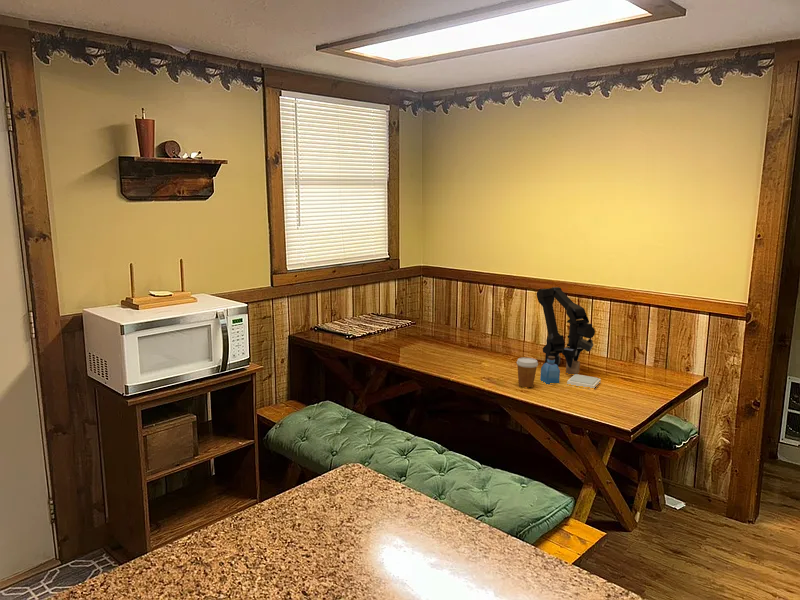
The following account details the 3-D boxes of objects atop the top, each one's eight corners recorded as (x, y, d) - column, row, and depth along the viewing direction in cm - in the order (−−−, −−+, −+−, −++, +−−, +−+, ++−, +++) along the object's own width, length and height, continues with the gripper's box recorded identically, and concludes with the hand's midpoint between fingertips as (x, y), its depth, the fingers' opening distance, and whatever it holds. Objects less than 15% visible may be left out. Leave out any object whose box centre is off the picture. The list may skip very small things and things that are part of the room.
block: (565, 374, 297) (566, 362, 296) (568, 371, 301) (569, 359, 300) (576, 376, 294) (576, 363, 293) (578, 373, 298) (579, 361, 297)
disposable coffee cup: (521, 381, 284) (523, 356, 282) (540, 385, 278) (542, 360, 276) (511, 386, 277) (512, 360, 275) (530, 390, 271) (532, 364, 269)
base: (566, 385, 280) (567, 379, 280) (574, 378, 290) (574, 373, 290) (593, 390, 274) (594, 384, 273) (600, 383, 284) (600, 377, 283)
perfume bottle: (546, 384, 280) (548, 359, 278) (540, 380, 286) (541, 355, 284) (559, 383, 282) (560, 358, 280) (552, 379, 288) (554, 354, 286)
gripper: (587, 340, 282) (584, 372, 285) (597, 332, 298) (594, 363, 301) (562, 336, 288) (560, 368, 291) (574, 329, 303) (572, 359, 306)
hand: (572, 365), depth 297 cm, fingers open, 9 cm apart
